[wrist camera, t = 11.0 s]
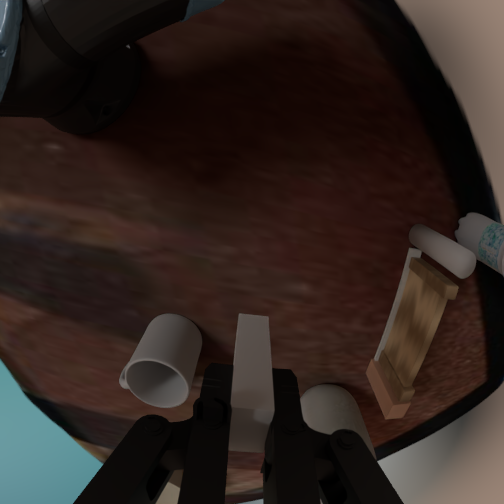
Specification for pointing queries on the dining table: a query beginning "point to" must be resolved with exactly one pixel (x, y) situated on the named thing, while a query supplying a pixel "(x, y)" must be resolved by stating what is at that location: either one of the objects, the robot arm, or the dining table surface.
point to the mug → (164, 362)
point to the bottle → (483, 239)
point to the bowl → (171, 489)
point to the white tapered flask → (333, 411)
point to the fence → (435, 247)
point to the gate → (415, 325)
